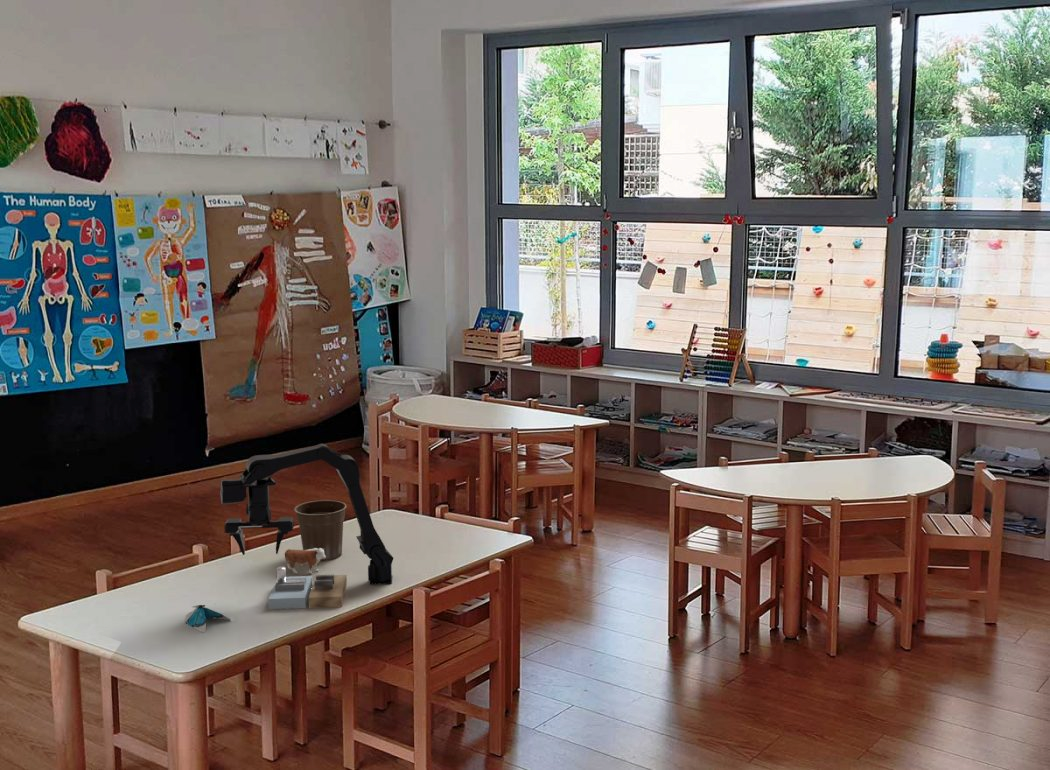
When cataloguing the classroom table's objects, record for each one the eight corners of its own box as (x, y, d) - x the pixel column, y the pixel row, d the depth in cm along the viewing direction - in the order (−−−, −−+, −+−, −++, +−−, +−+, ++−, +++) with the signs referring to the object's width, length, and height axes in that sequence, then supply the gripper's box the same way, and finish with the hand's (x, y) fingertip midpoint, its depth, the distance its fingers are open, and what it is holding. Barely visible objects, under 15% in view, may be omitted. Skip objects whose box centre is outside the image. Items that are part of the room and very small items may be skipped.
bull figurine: (325, 576, 327) (324, 550, 326) (283, 573, 330) (282, 547, 329) (330, 571, 331) (329, 545, 330) (289, 568, 334) (288, 543, 333)
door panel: (312, 585, 319) (311, 570, 318) (305, 608, 301) (304, 592, 301) (278, 586, 318) (277, 571, 318) (268, 609, 301) (268, 593, 300)
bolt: (305, 584, 311) (304, 565, 310) (304, 587, 308) (303, 568, 308) (277, 585, 310) (276, 566, 309) (276, 588, 308) (275, 569, 307)
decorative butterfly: (202, 600, 298) (227, 597, 292) (208, 622, 298) (232, 621, 293) (173, 612, 289) (198, 610, 284) (179, 635, 290) (204, 633, 284)
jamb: (346, 584, 320) (346, 567, 319) (341, 606, 302) (341, 588, 301) (316, 585, 319) (315, 568, 318) (309, 607, 301) (308, 589, 301)
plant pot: (311, 567, 335) (309, 517, 333) (287, 554, 348) (285, 506, 345) (357, 556, 345) (355, 507, 343) (332, 544, 358) (330, 497, 355)
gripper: (294, 492, 315) (296, 544, 317) (228, 494, 313) (230, 546, 315) (291, 503, 304) (292, 556, 306) (223, 504, 302) (225, 558, 304)
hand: (260, 554), depth 308 cm, fingers open, 9 cm apart
